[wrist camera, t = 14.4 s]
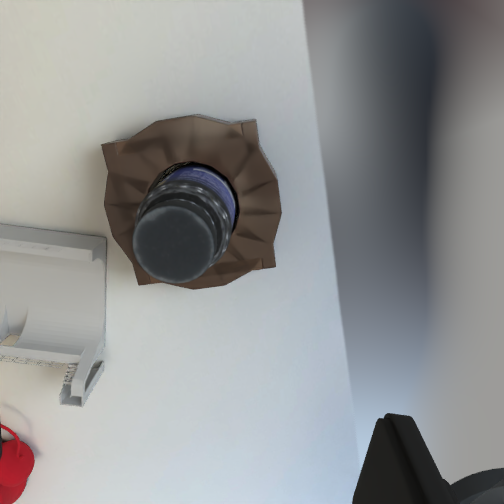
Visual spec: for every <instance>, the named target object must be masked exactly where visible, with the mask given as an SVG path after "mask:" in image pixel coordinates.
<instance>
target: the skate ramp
mask: <svg viewBox="0 0 504 504" xmlns="http://www.w3.org/2000/svg"><path fill="white" fill-rule="evenodd" d="M105 293H106V238H104V237H97V236H89V235H81V234H74V233H66V232H58V231H51V230H43V229H36V228H28V227H20V226H13V225H5V224H0V343H1V342H2V341H3V340H4V339H5V338H6V337H8V336H9V335H18V336H20V337H19V339H18V341H17V342H16V343H15V344H14V345H13V346H6V345H0V355H1V356H2V357H3V356H4V357H5V356H9V357H15V358H16V357H17V358H25V359H27V360H28V359H29V360H30V359H34V360H42V361H50V362H53V363H54V362H59V363H64V364H65V363H67V364H68V368H67V373H65V375H66V377H64V380H65V381H63V388H62V391H61V393H60V405H69V406H79V407H83V406H84V404H85V402H86V400H87V399H88V397H89V395H90V393H91V392H92V390H93V388H94V386H95V385H96V383H97V381H98V379H99V378H100V376H101V374H102V373H103V371H104V361H103V362H102V363H101V365H100V367H99V368H98V369H97V368H92V366H93V364H94V363H95V361H96V359H97V358H98V356H99V355H100V353H101V351H102V350H103V348H104V347H105ZM2 357H1V358H2ZM4 357H3V358H4ZM1 358H0V359H1ZM3 358H2V359H3ZM15 358H14V359H15ZM17 358H16V359H17ZM2 359H1V360H0V361H2ZM4 359H8V358H4ZM14 359H12V361H13V360H14ZM27 360H26V361H27ZM29 360H28V361H29ZM12 361H11V362H12ZM20 361H24V360H20ZM28 361H27V362H28ZM6 362H10V361H6ZM27 362H26V363H23V364H27ZM29 362H33V361H29ZM39 362H40V361H39ZM39 362H37V364H38V363H39ZM15 363H19V362H15ZM40 363H41V362H40ZM40 363H39V364H40ZM53 363H52V364H53ZM39 364H38V365H39ZM45 364H49V363H45ZM64 364H63V365H64ZM71 364H75V365H71ZM31 365H35V364H31ZM50 365H51V364H50ZM50 365H49V366H50ZM54 365H57V364H54ZM63 365H62V366H63ZM40 366H43V365H40ZM49 366H48V367H49ZM50 367H52V366H50ZM70 367H71V368H77V369H70ZM56 368H60V367H56ZM61 368H62V367H61ZM69 371H71V372H74V374H73V373H69ZM68 376H72V377H71V378H69V377H68ZM67 380H69V381H68V382H67ZM65 384H66V386H65Z"/></svg>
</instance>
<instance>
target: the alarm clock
mask: <svg viewBox="0 0 504 504" xmlns="http://www.w3.org/2000/svg"><path fill="white" fill-rule="evenodd" d="M1 428H3V429H5V430H7V431H8V432H9V433H10V434H12V435H13V436H14V437H15V439H16V440H10V441H7V442H5V443H3V442H2V456H1V460H0V504H12V503H14V502H15V501H16V500H17V499H18V498H19V497H20V496H21V494H22V492H23V491H24V489H25V486H26V482H27V478H28V477H29V475H30V474H31V472H32V470H33V467H34V461H35V460H34V454H33V452H32V450H31V449H30V447H29V446H28V445H27V444H25V443H24V442H22V441H20V440H19V437H18V436H17V435H16V433H14V432H13V431H12V430H11V429H9V428H8V427H6V426H4V425H2V424H1Z"/></svg>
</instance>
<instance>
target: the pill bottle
mask: <svg viewBox="0 0 504 504" xmlns="http://www.w3.org/2000/svg"><path fill="white" fill-rule="evenodd" d="M235 211H236V194H235V191H234V189H233V187H232V185H231V183H230V182H229V180H228V178H227V177H226V176H224V175H223V174H222V173H220V172H219V171H217V170H216V169H215V168H213V167H212V166H209V165H205V164H200V163H192V164H188V165H185V166H183V167H180V168H178V169H176V170H174V171H172V172H171V173H170V175H169V176H167V177H166V178H165V179H164V180H163V181H162V182H161V183H160V184H158V185H157V186H156V187H155V188H154V189H153V190H152V191H151V192H150V193H148V194H147V195H146V196H145V198H144V199H143V201H142V202H141V204H140V206H139V208H138V211H137V213H136V217H135V229H134V232H133V236H132V247H133V252H134V255H135V258H136V259H137V262H138V263H139V265H140V266H141V267H142V268H143V269H144V271H146V272H147V273H148V274H149V275H150V276H152V277H153V278H156V279H157V280H160V281H163V282H166V283H173V284H176V283H185V282H189V281H192V280H194V279H196V278H198V277H199V276H201V275H202V274H203V273H204V272H205V271H206V270H207V269H208V268H210V267H211V266H212V265H214V264H215V263H216V262H217V261H218V260H220V258H221V257H222V256H223V254H224V253H225V251H226V249H227V247H228V245H229V242H230V238H231V233H232V227H233V222H234V217H235Z"/></svg>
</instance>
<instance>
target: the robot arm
mask: <svg viewBox="0 0 504 504" xmlns="http://www.w3.org/2000/svg"><path fill="white" fill-rule="evenodd" d="M1 456H2V438H1V424H0V460H1ZM352 504H460V503H459V501H458V499H457V497H456V495H455V493H454V491H453V489H452V487H451V486H450V484H449V483H448V482H447V481H446V480H445V479H442V477H441V475H440V473H439V470H438V468H437V466H436V464H435V463H434V460H433V458H432V456H431V454H430V452H429V450H428V448H427V446H426V444H425V442H424V440H423V438H422V436H421V434H420V431H419V429H418V428H417V425H416V423H415V421H414V420H413V418H412V417H410V416H406V415H398V414H390V413H387V414H386V415H385V416H384V419H383V418H379V419H378V420H377V422H376V425H375V428H374V431H373V435H372V438H371V441H370V444H369V447H368V451H367V454H366V457H365V461H364V464H363V467H362V470H361V473H360V476H359V480H358V483H357V486H356V489H355V492H354V496H353V501H352Z"/></svg>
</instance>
